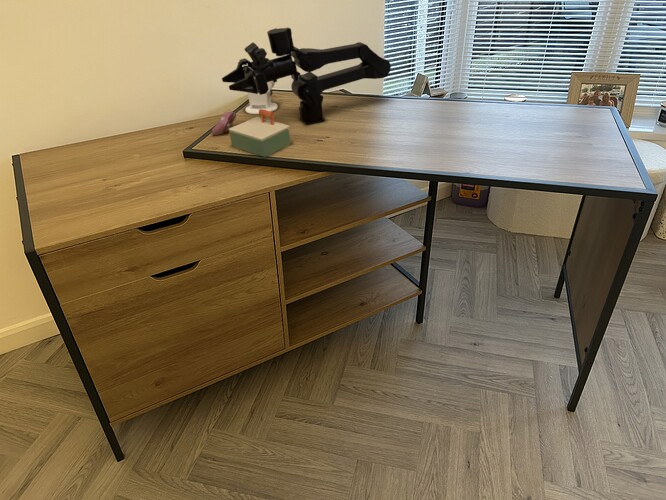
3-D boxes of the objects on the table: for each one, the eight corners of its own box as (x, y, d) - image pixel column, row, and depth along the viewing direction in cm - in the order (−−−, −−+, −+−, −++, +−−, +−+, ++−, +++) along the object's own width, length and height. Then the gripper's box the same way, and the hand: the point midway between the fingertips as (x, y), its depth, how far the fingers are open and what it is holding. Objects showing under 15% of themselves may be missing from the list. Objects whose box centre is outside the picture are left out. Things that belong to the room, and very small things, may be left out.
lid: (257, 119, 147) (254, 104, 144) (290, 128, 139) (288, 112, 136) (228, 131, 140) (225, 116, 138) (261, 141, 132) (259, 125, 129)
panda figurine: (283, 103, 171) (277, 59, 163) (273, 114, 163) (266, 68, 154) (252, 103, 174) (244, 60, 165) (240, 114, 165) (232, 69, 156)
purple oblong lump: (223, 140, 151) (228, 121, 147) (210, 134, 150) (215, 115, 146) (234, 128, 159) (240, 110, 154) (222, 122, 158) (227, 104, 154)
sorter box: (257, 134, 149) (255, 119, 146) (290, 144, 141) (288, 128, 138) (232, 146, 143) (228, 131, 140) (264, 157, 135) (261, 141, 132)
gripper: (260, 35, 145) (210, 49, 141) (279, 46, 130) (224, 62, 127) (269, 72, 151) (221, 86, 148) (288, 87, 137) (236, 103, 134)
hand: (225, 84), depth 139 cm, fingers open, 9 cm apart
